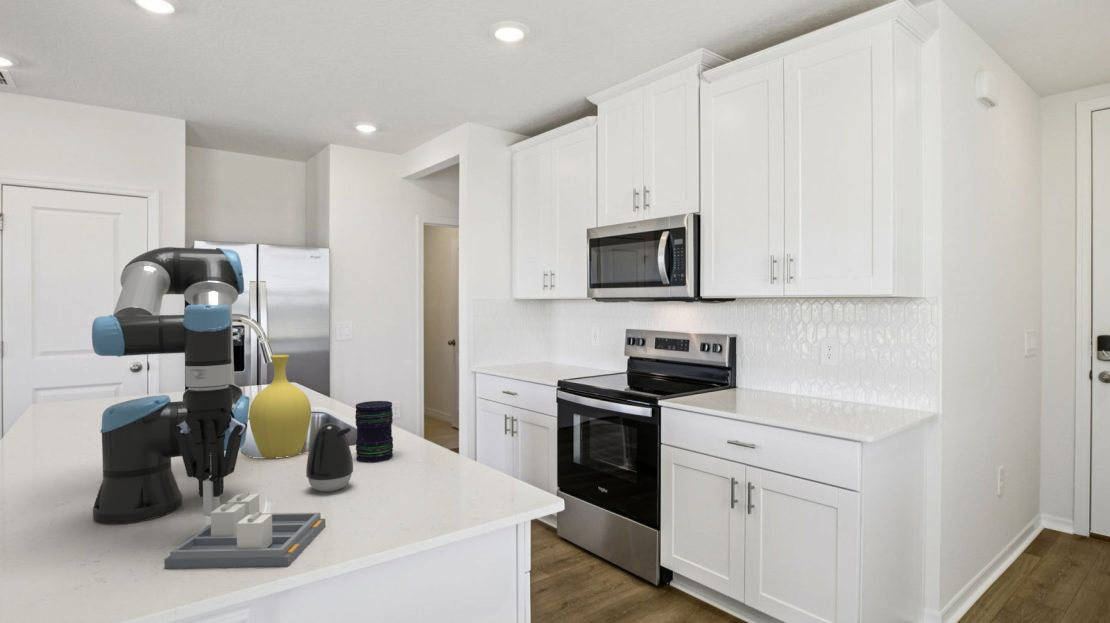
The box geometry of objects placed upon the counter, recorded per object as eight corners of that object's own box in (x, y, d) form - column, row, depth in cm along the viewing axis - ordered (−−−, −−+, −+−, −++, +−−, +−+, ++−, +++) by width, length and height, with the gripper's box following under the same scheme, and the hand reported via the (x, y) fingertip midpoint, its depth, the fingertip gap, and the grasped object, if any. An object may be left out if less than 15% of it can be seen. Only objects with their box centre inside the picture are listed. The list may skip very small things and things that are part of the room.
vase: (268, 446, 177) (266, 352, 176) (321, 446, 176) (319, 352, 176) (237, 461, 161) (235, 358, 160) (296, 461, 160) (294, 358, 160)
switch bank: (164, 568, 97) (164, 552, 97) (220, 528, 114) (220, 514, 114) (288, 566, 97) (287, 549, 97) (325, 526, 114) (325, 512, 114)
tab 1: (211, 540, 104) (210, 509, 103) (223, 531, 108) (222, 501, 107) (234, 540, 104) (233, 508, 103) (245, 531, 108) (245, 500, 107)
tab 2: (227, 528, 109) (226, 498, 109) (238, 520, 113) (237, 491, 113) (249, 528, 109) (248, 498, 109) (259, 520, 113) (259, 491, 113)
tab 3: (237, 553, 98) (236, 519, 98) (248, 543, 102) (248, 511, 102) (261, 553, 98) (260, 519, 98) (272, 543, 102) (271, 510, 102)
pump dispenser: (338, 497, 131) (337, 428, 131) (296, 494, 133) (295, 427, 133) (362, 483, 141) (361, 419, 141) (323, 480, 143) (322, 418, 143)
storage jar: (401, 456, 165) (400, 402, 164) (372, 464, 157) (372, 408, 156) (376, 451, 170) (375, 399, 170) (348, 459, 162) (347, 405, 162)
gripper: (160, 390, 106) (163, 521, 107) (233, 389, 106) (236, 520, 107) (186, 385, 114) (188, 507, 114) (254, 384, 114) (256, 506, 114)
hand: (211, 513), depth 110 cm, fingers closed
